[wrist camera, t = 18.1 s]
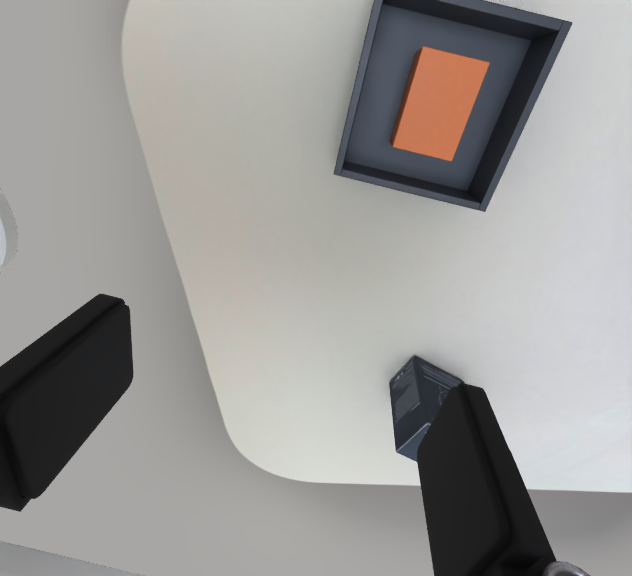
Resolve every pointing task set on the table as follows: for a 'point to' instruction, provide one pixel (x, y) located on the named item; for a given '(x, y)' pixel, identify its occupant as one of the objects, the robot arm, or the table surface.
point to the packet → (437, 102)
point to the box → (417, 402)
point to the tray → (489, 108)
